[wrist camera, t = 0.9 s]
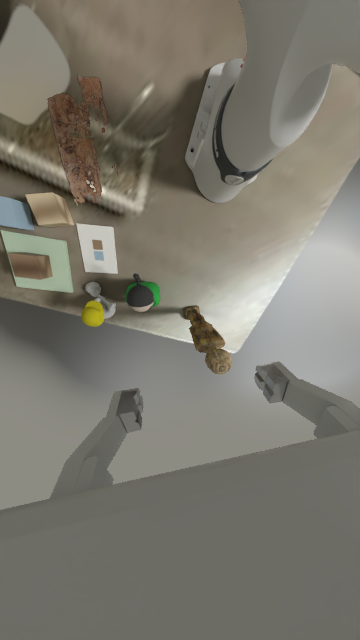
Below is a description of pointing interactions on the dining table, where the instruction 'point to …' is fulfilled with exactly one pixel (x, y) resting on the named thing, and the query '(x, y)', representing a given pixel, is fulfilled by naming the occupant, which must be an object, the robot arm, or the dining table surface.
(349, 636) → the robot arm
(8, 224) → the blue brick
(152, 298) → the toy
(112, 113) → the dining table surface
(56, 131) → the bark
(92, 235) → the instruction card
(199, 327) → the sculpture
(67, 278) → the plate
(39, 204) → the oak brick
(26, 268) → the walnut brick
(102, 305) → the figurine
